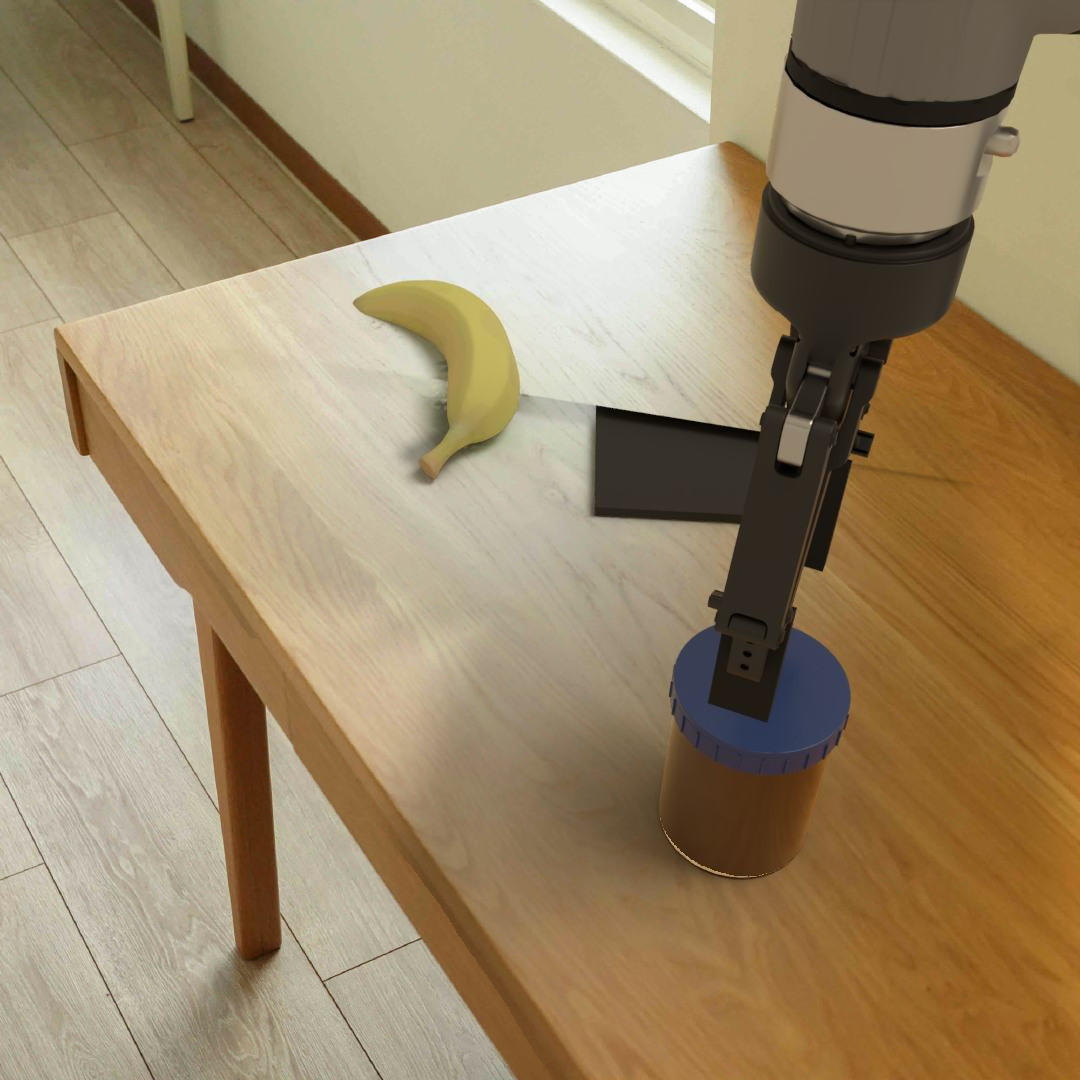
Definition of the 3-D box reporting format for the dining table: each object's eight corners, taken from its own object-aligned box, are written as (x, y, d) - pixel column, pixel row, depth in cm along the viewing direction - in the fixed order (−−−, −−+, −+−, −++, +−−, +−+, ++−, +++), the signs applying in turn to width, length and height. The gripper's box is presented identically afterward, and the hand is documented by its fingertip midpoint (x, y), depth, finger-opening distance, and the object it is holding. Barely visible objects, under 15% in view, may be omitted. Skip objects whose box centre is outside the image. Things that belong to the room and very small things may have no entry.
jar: (811, 771, 75) (847, 645, 68) (801, 893, 69) (838, 769, 62) (669, 744, 76) (689, 617, 69) (647, 862, 70) (667, 736, 63)
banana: (515, 244, 101) (498, 435, 88) (533, 300, 105) (518, 491, 92) (344, 272, 104) (302, 462, 91) (367, 326, 108) (331, 514, 95)
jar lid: (849, 657, 69) (856, 635, 68) (840, 792, 63) (847, 770, 62) (681, 627, 70) (685, 604, 69) (656, 756, 64) (660, 734, 63)
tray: (784, 399, 100) (785, 391, 100) (803, 526, 90) (805, 518, 89) (596, 390, 100) (596, 381, 100) (594, 515, 90) (595, 507, 90)
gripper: (918, 394, 39) (788, 841, 54) (1020, 92, 54) (897, 507, 69) (671, 329, 41) (613, 779, 56) (838, 55, 56) (756, 467, 71)
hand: (770, 628), depth 63 cm, fingers open, 10 cm apart
